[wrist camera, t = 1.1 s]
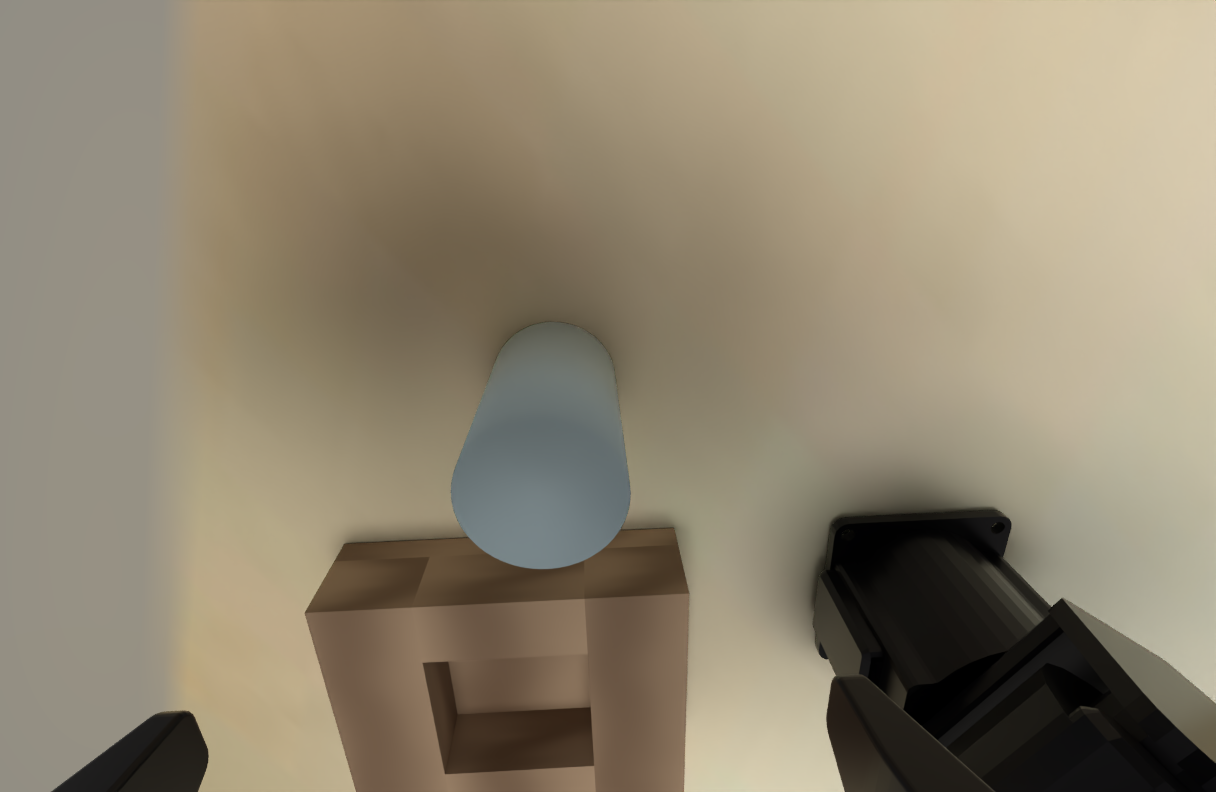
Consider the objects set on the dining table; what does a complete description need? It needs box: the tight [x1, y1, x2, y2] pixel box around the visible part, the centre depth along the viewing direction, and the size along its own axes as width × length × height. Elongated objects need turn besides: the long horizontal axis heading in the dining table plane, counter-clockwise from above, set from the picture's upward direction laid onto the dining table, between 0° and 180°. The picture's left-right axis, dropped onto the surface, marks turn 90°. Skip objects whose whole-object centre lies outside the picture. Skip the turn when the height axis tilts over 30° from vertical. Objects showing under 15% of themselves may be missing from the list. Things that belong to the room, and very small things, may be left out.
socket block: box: [305, 528, 689, 792], centre depth 23 cm, size 12×10×4 cm
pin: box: [451, 322, 631, 569], centre depth 17 cm, size 4×4×7 cm
